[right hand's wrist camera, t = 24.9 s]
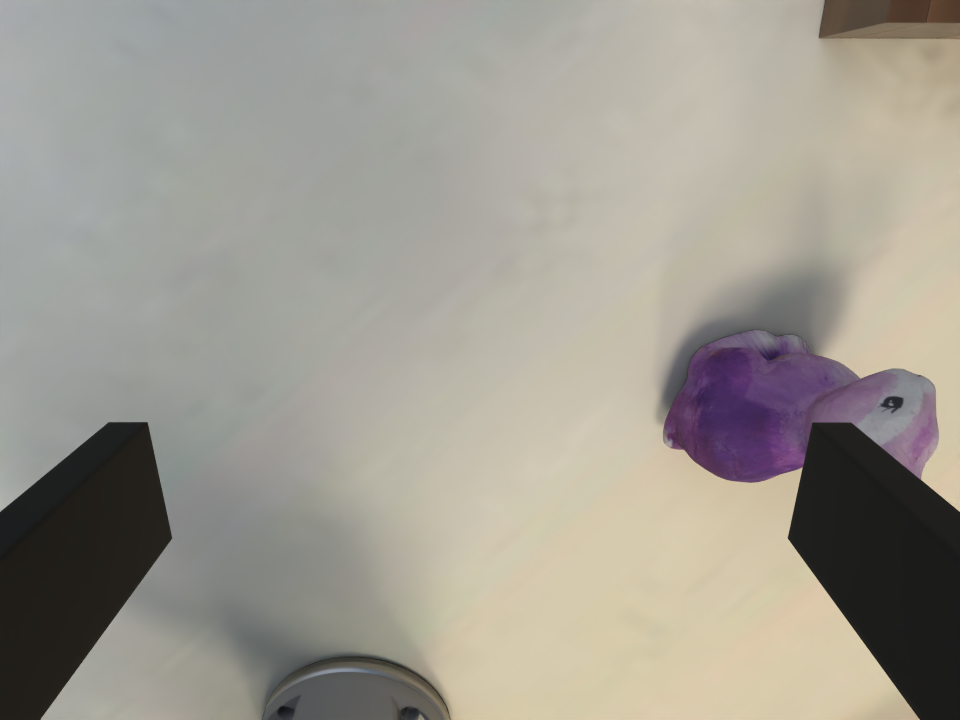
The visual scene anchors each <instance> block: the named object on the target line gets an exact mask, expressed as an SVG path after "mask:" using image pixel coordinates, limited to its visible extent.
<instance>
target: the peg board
mask: <svg viewBox="0 0 960 720" xmlns="http://www.w3.org/2000/svg"><path fill="white" fill-rule="evenodd" d="M819 38H900V39H935V38H936V39H960V0H826V1H825V7H824V12H823V18H822V24H821V29H820V35H819Z"/></svg>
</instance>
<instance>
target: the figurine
mask: <svg viewBox="0 0 960 720" xmlns="http://www.w3.org/2000/svg"><path fill="white" fill-rule="evenodd" d="M812 422H851V423H853V424H854V425H855V426H856V427H857V428H859V429H860V430H861V431H862V432H863V433H865V434H866V435H867V436H868V437H870V438H871V439H872V440H873V441H874V442H876V443H877V444H878V445H879V446H880V447H882V448H883V449H884V450H885V451H886V452H888V453H889V454H890V455H891V456H893V457H894V458H895V459H896V460H897V461H899V462H900V463H901V464H902V465H903V466H905V467H906V468H907V469H908V470H909V471H911V472H912V473H913V474H914V475H916V476H917V477H918V478H919V479H920V480H921V475H922V471H923V468H924V466H925V464H926V462H927V461H928V460H929V458H930V457H931V456H932V454H933V453H934V451H935V450H936V448H937V445H938V441H939V431H938V424H937V417H936V391H935V386H934V384H933V383H932V382H931V381H930V380H929V379H927V378H925V377H924V376H921V375H916V374H914V373H911V372H909V371H907V370H904V369H889V370H884V371H881V372H878V373H875V374H872V375H869V376H866V377H864V378H862V379H860V378H859V377H858V376H857V375H856V374H855V373H854V372H853V371H851V370H850V369H849V368H847V367H846V366H845V365H843V364H841V363H839V362H837V361H835V360H832V359H829V358H825V357H822V356H817V355H812V354H811V353H810V350H809V348H808V347H807V344H806V342H805V341H804V340H803V339H802V338H801V337H799V336H796V335H791V334H790V335H782V336H779V337H778V336H774V335H772V334H771V333H769V332H768V331H761V330H753V331H746V332H742V333H741V334H735V335H732V336H728V337H725V338H721V339H719V340H717V341H714V342H712V343H710V344H707V345H705V346H703V347H701V348H700V349H699V350H698V351H697V352H696V353H695V354H694V355H693V356H692V358H691V360H690V363H689V367H688V376H687V379H686V382H685V384H684V386H683V387H682V389H681V390H680V392H679V393H678V395H677V396H676V398H675V400H674V402H673V404H672V407H671V409H670V411H669V413H668V416H667V418H666V420H665V424H664V429H663V440H664V443H665V444H666V445H667V446H668V447H670V448H672V449H682V450H685V451H686V452H687V454H688V455H689V456H690V457H691V459H693V460H694V461H695V462H696V463H697V464H699V465H700V466H702V467H703V468H704V469H706V470H708V471H709V472H711V473H713V474H714V475H716V476H718V477H721V478H723V479H726V480H730V481H738V482H749V483H752V482H760V481H764V480H768V479H770V478H773V477H775V476H777V475H779V474H783V473H787V472H790V471H794V470H797V469H799V468H802V467H803V464H804V460H805V455H806V450H807V446H808V441H809V436H810V431H811V427H812Z"/></svg>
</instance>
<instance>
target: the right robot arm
mask: <svg viewBox="0 0 960 720" xmlns="http://www.w3.org/2000/svg"><path fill="white" fill-rule="evenodd" d="M171 539H172V535H171V531H170V526H169V521H168V516H167V512H166V507H165V502H164V498H163V493H162V488H161V483H160V479H159V474H158V469H157V464H156V460H155V455H154V450H153V446H152V441H151V436H150V431H149V427H148V422H109V423H107V424H106V425H105V426H104V427H103V428H101V429H100V430H99V431H98V432H97V433H95V434H94V435H93V436H92V437H90V438H89V439H88V440H87V441H86V442H84V443H83V444H82V445H81V446H80V447H78V448H77V449H76V450H75V451H74V452H72V453H71V454H70V455H69V456H67V457H66V458H65V459H64V460H63V461H61V462H60V463H59V464H58V465H57V466H55V467H54V468H53V469H52V470H51V471H49V472H48V473H47V474H46V475H44V476H43V477H42V478H41V479H40V480H38V481H37V482H36V483H35V484H34V485H32V486H31V487H30V488H29V489H28V490H26V491H25V492H24V493H23V494H21V495H20V496H19V497H18V498H17V499H15V500H14V501H13V502H12V503H11V504H9V505H8V506H7V507H6V508H5V509H3V510H2V511H1V512H0V720H40V719H41V718H42V716H43V715H44V714H45V712H46V711H47V710H48V708H49V707H50V705H51V704H52V703H53V701H54V700H55V699H56V697H57V696H58V694H59V693H60V692H61V690H62V689H63V688H64V686H65V685H66V683H67V682H68V681H69V679H70V678H71V677H72V675H73V674H74V672H75V671H76V670H77V668H78V667H79V666H80V664H81V663H82V661H83V660H84V659H85V657H86V656H87V655H88V653H89V652H90V650H91V649H92V648H93V646H94V645H95V644H96V642H97V641H98V640H99V638H100V637H101V635H102V634H103V633H104V631H105V630H106V629H107V627H108V626H109V624H110V623H111V622H112V620H113V619H114V618H115V616H116V615H117V613H118V612H119V611H120V609H121V608H122V607H123V605H124V604H125V602H126V601H127V600H128V598H129V597H130V596H131V594H132V593H133V591H134V590H135V589H136V587H137V586H138V585H139V583H140V582H141V580H142V579H143V578H144V576H145V575H146V574H147V572H148V571H149V569H150V568H151V567H152V565H153V564H154V563H155V561H156V560H157V559H158V557H159V556H160V554H161V553H162V552H163V550H164V549H165V548H166V546H167V545H168V543H169V542H170V541H171ZM788 539H789V541H790V542H791V543H792V545H793V546H794V548H795V549H796V550H797V552H798V553H799V554H800V556H801V557H802V559H803V560H804V561H805V563H806V564H807V565H808V567H809V568H810V569H811V571H812V572H813V574H814V575H815V576H816V578H817V579H818V580H819V582H820V583H821V585H822V586H823V587H824V589H825V590H826V591H827V593H828V594H829V596H830V597H831V598H832V600H833V601H834V602H835V604H836V605H837V607H838V608H839V609H840V611H841V612H842V613H843V615H844V616H845V618H846V619H847V620H848V622H849V623H850V624H851V626H852V627H853V629H854V630H855V631H856V633H857V634H858V635H859V637H860V638H861V640H862V641H863V642H864V644H865V645H866V646H867V648H868V649H869V650H870V652H871V653H872V655H873V656H874V657H875V659H876V660H877V661H878V663H879V664H880V666H881V667H882V668H883V670H884V671H885V672H886V674H887V675H888V677H889V678H890V679H891V681H892V682H893V683H894V685H895V686H896V688H897V689H898V690H899V692H900V693H901V694H902V696H903V697H904V699H905V700H906V701H907V703H908V704H909V705H910V707H911V708H912V710H913V711H914V712H915V714H916V715H917V716H918V718H919V719H920V720H960V512H959V511H958V510H957V509H955V508H954V507H953V506H952V505H951V504H949V503H948V502H947V501H946V500H945V499H943V498H942V497H941V496H940V495H938V494H937V493H936V492H935V491H934V490H932V489H931V488H930V487H929V486H928V485H926V484H925V483H924V482H923V481H922V480H920V479H919V478H918V477H917V476H916V475H914V474H913V473H912V472H911V471H909V470H908V469H907V468H906V467H905V466H903V465H902V464H901V463H900V462H899V461H897V460H896V459H895V458H894V457H893V456H891V455H890V454H889V453H888V452H886V451H885V450H884V449H883V448H882V447H880V446H879V445H878V444H877V443H876V442H874V441H873V440H872V439H871V438H870V437H868V436H867V435H866V434H865V433H863V432H862V431H861V430H860V429H859V428H857V427H856V426H855V425H854V424H853V423H851V422H812V427H811V431H810V436H809V441H808V446H807V450H806V455H805V460H804V464H803V469H802V474H801V479H800V483H799V488H798V493H797V497H796V502H795V507H794V512H793V516H792V521H791V526H790V531H789V535H788ZM262 720H450V717H449V714H448V711H447V708H446V706H445V704H444V702H443V701H442V699H441V698H440V696H439V695H438V694H437V693H436V691H435V690H434V689H433V688H432V687H431V686H430V685H429V684H428V683H426V682H425V681H424V680H422V679H421V678H420V677H418V676H417V675H415V674H413V673H412V672H410V671H408V670H406V669H404V668H401V667H399V666H397V665H394V664H391V663H388V662H384V661H380V660H375V659H369V658H358V657H345V658H334V659H328V660H323V661H320V662H316V663H313V664H310V665H308V666H305V667H303V668H301V669H299V670H297V671H296V672H294V673H292V674H291V675H290V676H288V677H287V678H286V679H284V680H283V681H282V682H281V683H280V684H279V685H278V687H277V688H276V689H275V690H274V692H273V693H272V695H271V697H270V699H269V701H268V703H267V706H266V709H265V712H264V715H263V717H262Z"/></svg>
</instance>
